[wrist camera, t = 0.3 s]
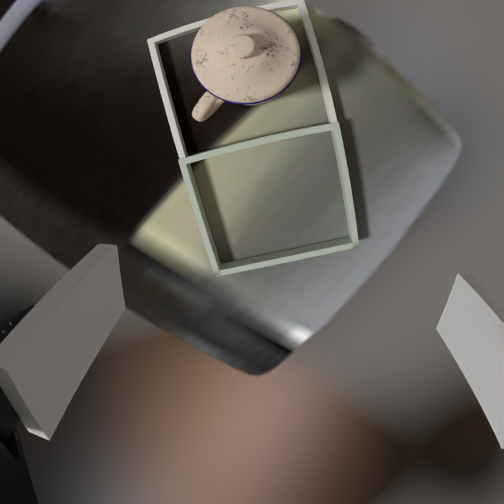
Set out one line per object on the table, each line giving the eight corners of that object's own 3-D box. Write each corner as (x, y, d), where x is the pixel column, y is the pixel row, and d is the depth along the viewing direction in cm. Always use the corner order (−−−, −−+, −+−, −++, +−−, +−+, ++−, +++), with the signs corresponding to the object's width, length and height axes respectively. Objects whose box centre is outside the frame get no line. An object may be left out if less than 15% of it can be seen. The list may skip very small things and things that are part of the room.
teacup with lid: (245, 16, 27) (235, -26, 17) (310, 65, 29) (331, 42, 19) (175, 95, 31) (134, 88, 21) (238, 144, 33) (224, 157, 23)
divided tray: (150, 41, 29) (145, 38, 27) (302, 2, 26) (303, -4, 25) (217, 269, 40) (215, 276, 38) (355, 240, 37) (359, 246, 36)
